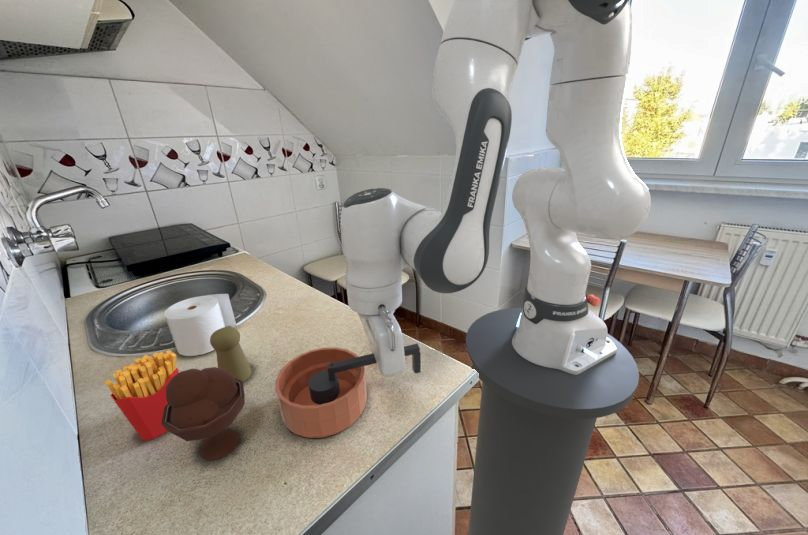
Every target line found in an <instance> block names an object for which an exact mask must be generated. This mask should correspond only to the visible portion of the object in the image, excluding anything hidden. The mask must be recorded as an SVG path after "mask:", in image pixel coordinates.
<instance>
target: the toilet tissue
mask: <svg viewBox="0 0 808 535" xmlns="http://www.w3.org/2000/svg"><path fill="white" fill-rule="evenodd" d="M163 314H164V319H165V321H166V323H167V327H168V329H169V332H170V334H171V337H172V340H173V343H174V346H175V348H176V351H177V352H178V354H180V355H181V356H184V357H196V356H201V355H205V354H208V353H210V352H213V351H214V350H215V349H214V348H213V347H212V346H211V343H210V337H211V335H212V334H213V333H214V332H215V331H216V330H218V329H221V328H224V327H237V321H236V318H235V313H234V311H233V307H232V304H231V300H230V295H229V293H215V294H212V293H211V294H207V295H206V294H205V295H199V296H194V297H189V298H186V299H184V300H180V301H178V302H176V303H174V304H172V305H170V306H169V307H168V308H167V309H166V310H165V311H164V312H163Z"/></svg>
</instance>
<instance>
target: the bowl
mask: <svg viewBox="0 0 808 535" xmlns="http://www.w3.org/2000/svg"><path fill="white" fill-rule="evenodd" d="M355 357H359V355H358V354H357V353H355V352H353V351H351V350H349V349H347V348H342V347H335V346H334V347H321V348H315V349H312V350H309V351H306V352H303V353H300V354H299V355H296V357H294V358H292V359H291V360H289V361H288V362H287V363H286V364H285V365H284V366H283V367H282V368H281V370H280V371H279V372H278V375H277V376H276V379H275V382H274V383H275V384H274V392H275V395H276V396H275V397H276V399H277V404H278V408H279V412H280V418H281V419H282V422H283V425H284V426H285V428H286V429H288V430H289V431H290V432H292V433H293V434H294V435H296V436H300V437H303V438H310V439H311V438H326V437H329V436H332V435H336V434H339V433H340V432H342V431H344V430H345V429H347V428H349V427H350V426H352V425H353V424H354V423H355V422H356V421H357V419H359V418H360V417H361V416H362V413H363V411H364V410H365V408H366V406H367V399H368V388H367V378H366V370H365V369H366V368H365V366H362V367H358V368H354V369H349V370H345V371H341V372H337V373H336V374H337V376H338V381H339V388H340V393H339V396H338V397H337V398H336V399H335V400H334V401H332V402H329V403H325V404H321V405H320V404H316V403H314V402H313V401H312V400H311V396H310V391H309V386H308V382H309V379H310V378H311V377H312V376H313V375H314V374H315V373H317V372H320V371H324V370H328V368H327V364H330V363H333V362H338V361H342V360H347V359H351V358H355Z"/></svg>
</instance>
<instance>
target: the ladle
mask: <svg viewBox="0 0 808 535" xmlns="http://www.w3.org/2000/svg"><path fill="white" fill-rule="evenodd" d="M421 353H422V352H421V348H420V345H419V344H418V343H414V344H409V345H404V354H405V357H409V356H411V366H412V367H411V368H412V371H413V373H414V374H419V373H421V367H422V366H421V365H422V362H421V359H422V358H421ZM374 364H376V359H375V356H374V354H372V353H369V354H364V355H359V356H358V357H355V358H351V359H347V360H342V361H338V362H333V363H330V364H327V368H328V370H324V371H320V372H317V373H315V374H314V375H313V376H312V377H311V378H310V379H309V382H308V386H309V391H310V396H311V400H312V401H313V402H314V403H316V404H320V405H321V404H325V403H329V402H332V401H334V400H335V399H336V398H337V397H338V396H339V393H340V388H339V381H338V376H337V374H336V373H337V372H341V371H345V370H349V369H354V368H358V367H362V366H364V367H365V366H370V365H371V366H372V365H374Z"/></svg>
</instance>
